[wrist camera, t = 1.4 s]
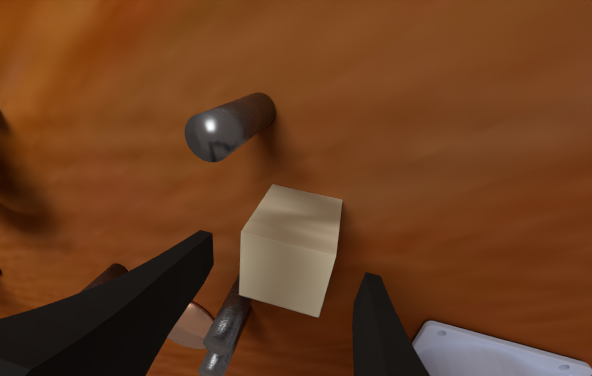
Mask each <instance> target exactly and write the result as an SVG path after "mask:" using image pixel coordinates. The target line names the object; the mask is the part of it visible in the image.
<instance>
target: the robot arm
mask: <svg viewBox="0 0 592 376" xmlns="http://www.w3.org/2000/svg"><path fill="white" fill-rule="evenodd" d="M213 265H214V260H213V236H212V233H210V232H206V231H202V230H200V231H198V232H197V233H195V234H193V235H192V236H190V237H188V238H187V239H185V240H183V241H182V242H180V243H178V244H177V245H175V246H174V247H172V248H170V249H169V250H167V251H165V252H163V253H162V254H160V255H158V256H157V257H155V258H153V259H151V260H149V261H148V262H146V263H144V264H142V265H140V266H138V267H136V268H135V269H133V270H131V271H129V272H127V273H125V274H123V275H120V276H118V277H116V278H114V279H112V280H110V281H107V282H105V283H103V284H101V285H98V286H96V287H93V288H91V289H88V290H86V291H83V292H81V293H78V294H76V295H73V296H70V297H68V298H65V299H62V300H59V301H57V302H54V303H51V304H48V305H45V306H42V307H39V308H36V309H33V310H29V311H26V312H23V313H19V314H16V315H12V316H9V317H6V318H2V319H0V376H146V374H147V372H148V370H149V368H150V366H151V365H152V363H153V361H154V359H155V357H156V356H157V354H158V352H159V350H160V349H161V347H162V345H163V343H164V342H165V340H166V338H167V337H168V335H169V333H170V332H171V330H172V329H173V327H174V326H175V324H176V323H177V321H178V320H179V319H180V317H181V316H182V314H183V313H184V311H185V310H186V309H187V307H188V306H189V304H190V303H191V301H192V300H193V298H194V297H195V296H196V294H197V293H198V291H199V290H200V288H201V287H202V285H203V284H204V282H205V280H206V278H207V276H208V275H209V273H210V271H211V269H212V267H213ZM352 327H353V359H354V376H590V375H592V369H591V367H590V366H589V365H588V364H587V363H585V362H583V361H579V360H576V359H572V358H568V357H565V356H561V355H557V354H554V353H550V352H546V351H543V350H539V349H535V348H532V347H528V346H524V345H521V344H517V343H513V342H510V341H506V340H502V339H499V338H495V337H491V336H488V335H484V334H480V333H477V332H473V331H469V330H466V329H462V328H458V327H455V326H451V325H447V324H444V323H440V322H436V321H427V322H426V323H424V325H423V326H422V328H421V330H420V331H419V333H418V334H417V336H416V338H415V339H414V341H413V342H412V343H411V342H410V340H409V338H408V336H407V334H406V332H405V330H404V328H403V326H402V324H401V322H400V320H399V318H398V316H397V314H396V312H395V309H394V307H393V305H392V303H391V300H390V298H389V296H388V293H387V291H386V288H385V286H384V283H383V281H382V278H381V277H380V276H379V275H375V274H371V273H367V272H366V273H365V275H364V278H363V280H362V283H361V286H360V288H359V291H358V294H357V296H356V299H355V302H354V311H353V325H352Z"/></svg>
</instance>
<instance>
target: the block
mask: <svg viewBox="0 0 592 376" xmlns="http://www.w3.org/2000/svg"><path fill="white" fill-rule="evenodd" d="M341 209H342V200H340V199H336V198H332V197H327V196H323V195H318V194H314V193H309V192H305V191H300V190H296V189H292V188H287V187H283V186H278V185H274V184H272V186H271V187H270V189H269V190H268V192H267V193H266V195H265V196H264V198H263V199H262V201H261V202H260V204H259V205H258V207H257V208H256V210H255V211H254V213H253V214H252V216H251V217H250V219H249V220H248V222H247V223H246V225H245V226H244V228H243V229H242V231H241V251H240V282H239V295H241V296H245V297H248V298H252V299H255V300H259V301H262V302H266V303H269V304H273V305H276V306H280V307H283V308H287V309H290V310H294V311H297V312H300V313H304V314H307V315H311V316H314V317H318V318H319V315H320V311H321V308H322V304H323V300H324V297H325V293H326V290H327V286H328V283H329V279H330V276H331V272H332V269H333V265H334V262H335V258H336V253H337V244H338V236H339V227H340V218H341Z"/></svg>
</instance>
